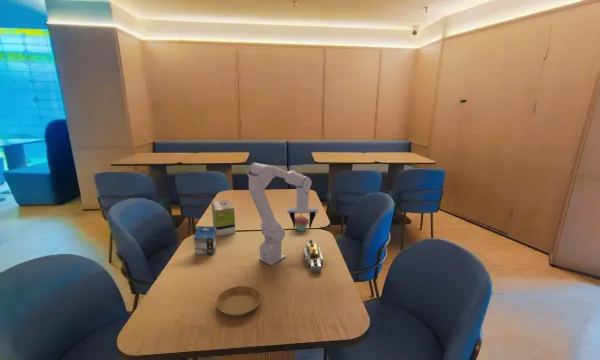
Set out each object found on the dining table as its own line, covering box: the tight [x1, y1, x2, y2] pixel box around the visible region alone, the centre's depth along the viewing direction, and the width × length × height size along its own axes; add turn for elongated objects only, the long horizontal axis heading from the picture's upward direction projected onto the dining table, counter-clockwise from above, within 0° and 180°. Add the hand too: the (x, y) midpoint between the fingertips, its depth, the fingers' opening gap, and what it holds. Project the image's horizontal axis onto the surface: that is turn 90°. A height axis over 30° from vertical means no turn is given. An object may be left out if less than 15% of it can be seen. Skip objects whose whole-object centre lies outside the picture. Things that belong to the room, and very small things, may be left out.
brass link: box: [308, 243, 318, 259], centre depth 126 cm, size 9×4×5 cm, turn 4°
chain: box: [303, 239, 324, 274], centre depth 125 cm, size 23×8×4 cm, turn 4°
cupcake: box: [295, 213, 309, 232], centre depth 155 cm, size 9×8×12 cm
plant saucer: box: [215, 285, 262, 317], centre depth 95 cm, size 15×15×3 cm
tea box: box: [210, 199, 236, 237], centre depth 153 cm, size 15×10×15 cm, turn 25°
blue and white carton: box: [193, 225, 217, 256], centre depth 128 cm, size 9×4×12 cm, turn 88°
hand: (302, 226), depth 136 cm, fingers open, 7 cm apart
